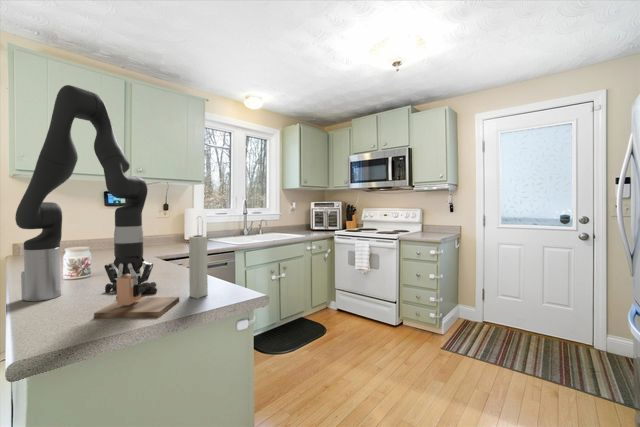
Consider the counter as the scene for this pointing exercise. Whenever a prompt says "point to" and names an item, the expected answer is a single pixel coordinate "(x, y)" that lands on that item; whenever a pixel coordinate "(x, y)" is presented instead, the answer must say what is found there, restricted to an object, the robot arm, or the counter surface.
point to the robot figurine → (144, 287)
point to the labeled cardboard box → (126, 291)
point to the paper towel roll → (198, 266)
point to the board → (138, 308)
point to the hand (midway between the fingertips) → (129, 296)
